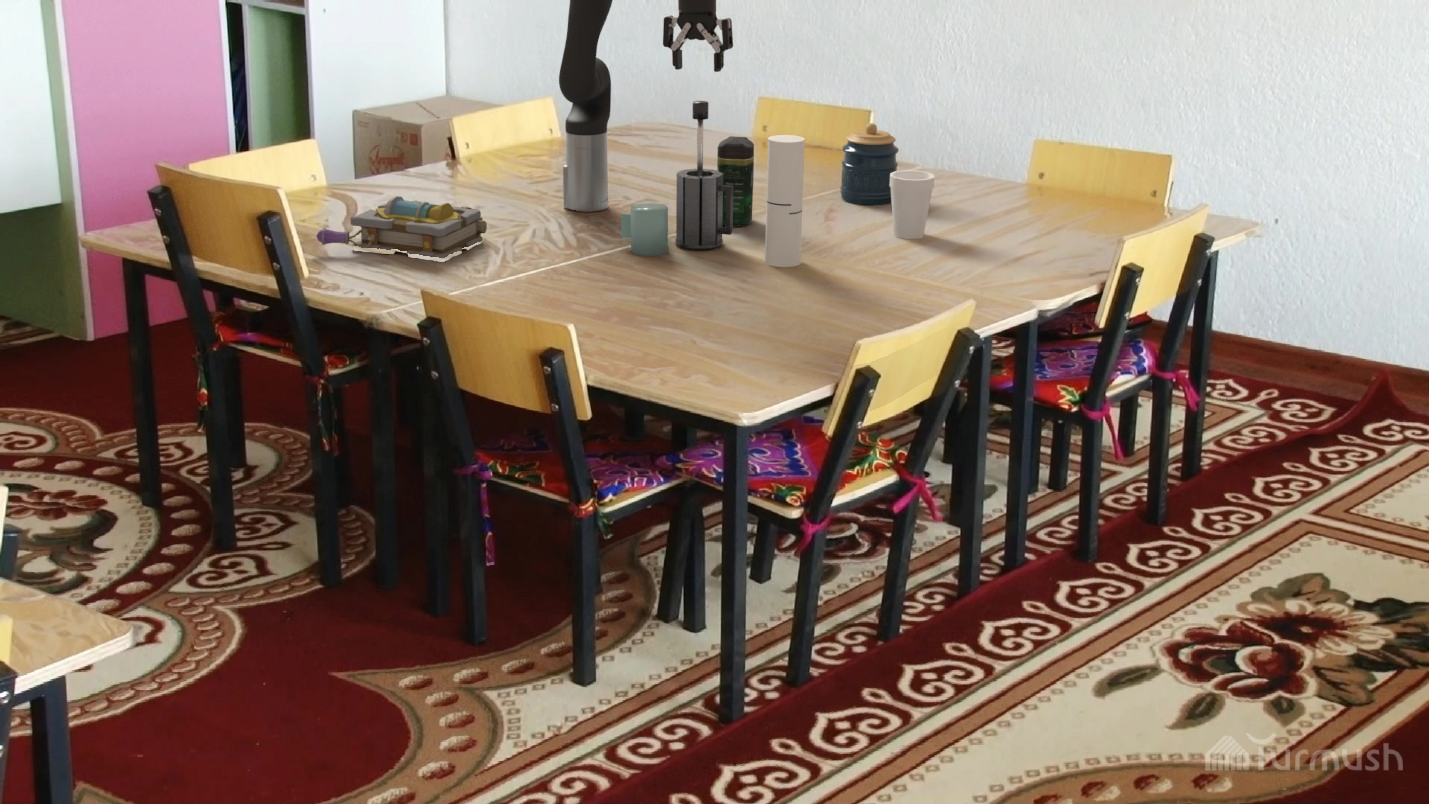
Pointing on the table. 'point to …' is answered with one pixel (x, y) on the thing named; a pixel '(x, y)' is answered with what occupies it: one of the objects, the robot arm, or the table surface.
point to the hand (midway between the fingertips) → (698, 70)
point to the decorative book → (414, 228)
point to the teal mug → (646, 229)
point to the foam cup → (910, 202)
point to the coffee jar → (737, 176)
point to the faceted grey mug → (702, 210)
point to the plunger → (700, 131)
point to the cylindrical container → (784, 200)
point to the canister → (868, 166)
